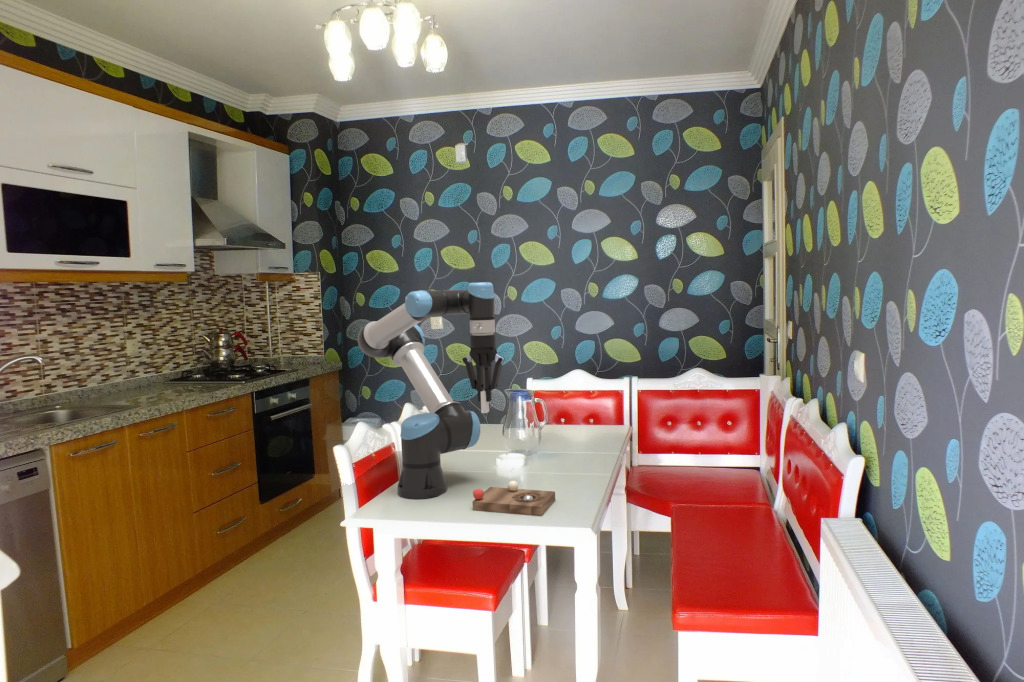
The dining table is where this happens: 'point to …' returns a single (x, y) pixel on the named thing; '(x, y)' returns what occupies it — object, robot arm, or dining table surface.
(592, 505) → the dining table surface
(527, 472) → the dining table surface
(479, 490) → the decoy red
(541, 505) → the board
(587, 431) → the dining table surface
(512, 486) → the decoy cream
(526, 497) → the steel ball
